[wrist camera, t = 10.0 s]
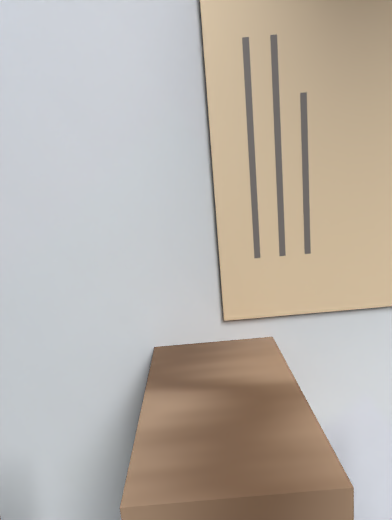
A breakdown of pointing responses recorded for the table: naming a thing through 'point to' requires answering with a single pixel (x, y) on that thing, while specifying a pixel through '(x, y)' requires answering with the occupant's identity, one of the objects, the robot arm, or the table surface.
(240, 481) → the block
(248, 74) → the letter
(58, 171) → the table surface
